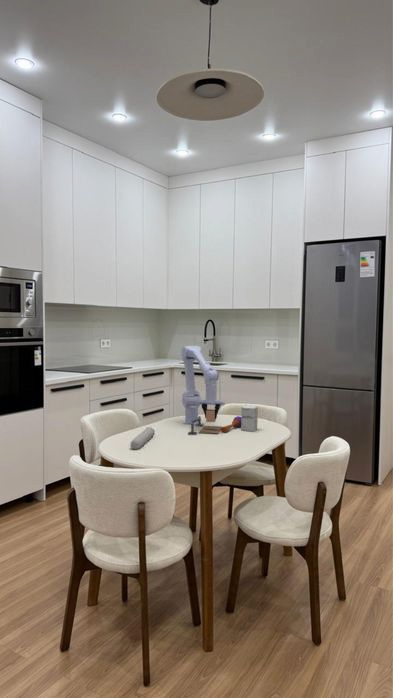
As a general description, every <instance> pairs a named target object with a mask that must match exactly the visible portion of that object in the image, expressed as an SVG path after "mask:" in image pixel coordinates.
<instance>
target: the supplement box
mask: <svg viewBox="0 0 393 698" xmlns="http://www.w3.org/2000/svg"><path fill="white" fill-rule="evenodd" d="M258 413H259V406H257V405H248V404H247V405H243V406H241V416H240V417H241V427H240V430H241V431H246V432H255V431H256V430H258V419H259V418H258V417H259V416H258V415H259V414H258Z"/></svg>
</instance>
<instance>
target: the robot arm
mask: <svg viewBox="0 0 393 698" xmlns="http://www.w3.org/2000/svg"><path fill="white" fill-rule="evenodd" d="M181 359H182V361H183V362H184V363H183V364H184V373H185V375H184V376H185V384H186V385H185V387H186V389H185V391H184V392H183V394H182V398H181V399H182V400H181V403H182V406H183V407H184V409H185V410H184V417H185V418H184V421H183V424H190V425H191V424H192V421H194V420H196V419H198V417H199V409H198V408H200V406H201V408H202V412H203V413H204V416H205V417H204V419H206V410H207V409H208V405H214V409H215V419H216V420H217V418H218V413H219V410H220V408H221V406H225V405H226V401H225V400H217V387H218V386H217V383H218V382H217V381H219V378H220V376H219V375H220V374H219V372H218V371H219V370H217V369H215V368H213V367H212V366H211V364H210V362H209V361H207V360H205V358H204V355H203V354H202V347H200V345H183V347H182V349H181ZM195 361H196V362H197V363H198V364H199V366H198V367H199V369H200V371H201V373H202V374H203V379H204V384H205V399H204V400H203V399H202V398H201V395H200V394H201V393H200V391H198V390H197V389H196V382H195V380H196V379H195V371H194V369H195V368H194V362H195ZM197 423H198V421H196V422H194V423H193V424H194V425H196V424H197Z"/></svg>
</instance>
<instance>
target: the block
mask: <svg viewBox="0 0 393 698" xmlns="http://www.w3.org/2000/svg"><path fill="white" fill-rule="evenodd" d="M216 421H217V418H216V419H215V408H213V409H212V408H211V409H210V408H207V410H206V418H205V422H206V423H216Z"/></svg>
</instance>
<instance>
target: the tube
mask: <svg viewBox="0 0 393 698" xmlns="http://www.w3.org/2000/svg"><path fill="white" fill-rule="evenodd" d="M155 435H156V434H155V429H154V428H152V426H151V427H148V426H146V428H145V429H144V430H143V431H141V433H139V434H138V435H137V436H135V437H134V438H133V439H132V440H131V441H130V448H131V449H132V450H139V449H140V448H142V446H143V445H145V444H146V443H147V442H149V440H150V439H152V438H153V437H154V436H155Z"/></svg>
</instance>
